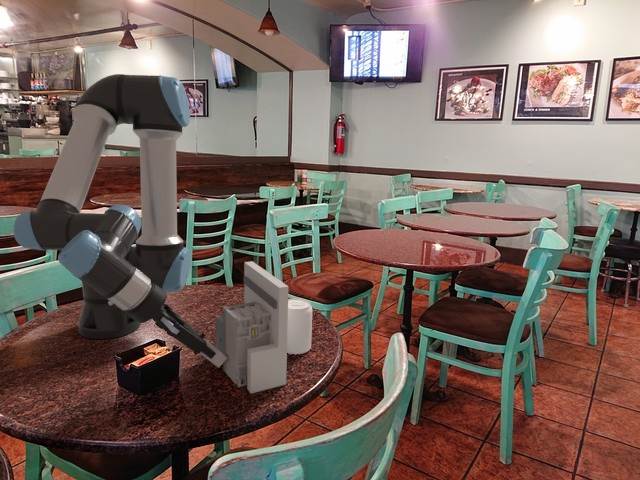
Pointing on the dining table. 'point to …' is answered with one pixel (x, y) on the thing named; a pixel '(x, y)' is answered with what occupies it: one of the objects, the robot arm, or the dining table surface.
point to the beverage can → (299, 326)
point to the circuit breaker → (241, 336)
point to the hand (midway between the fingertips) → (222, 361)
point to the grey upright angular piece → (273, 296)
